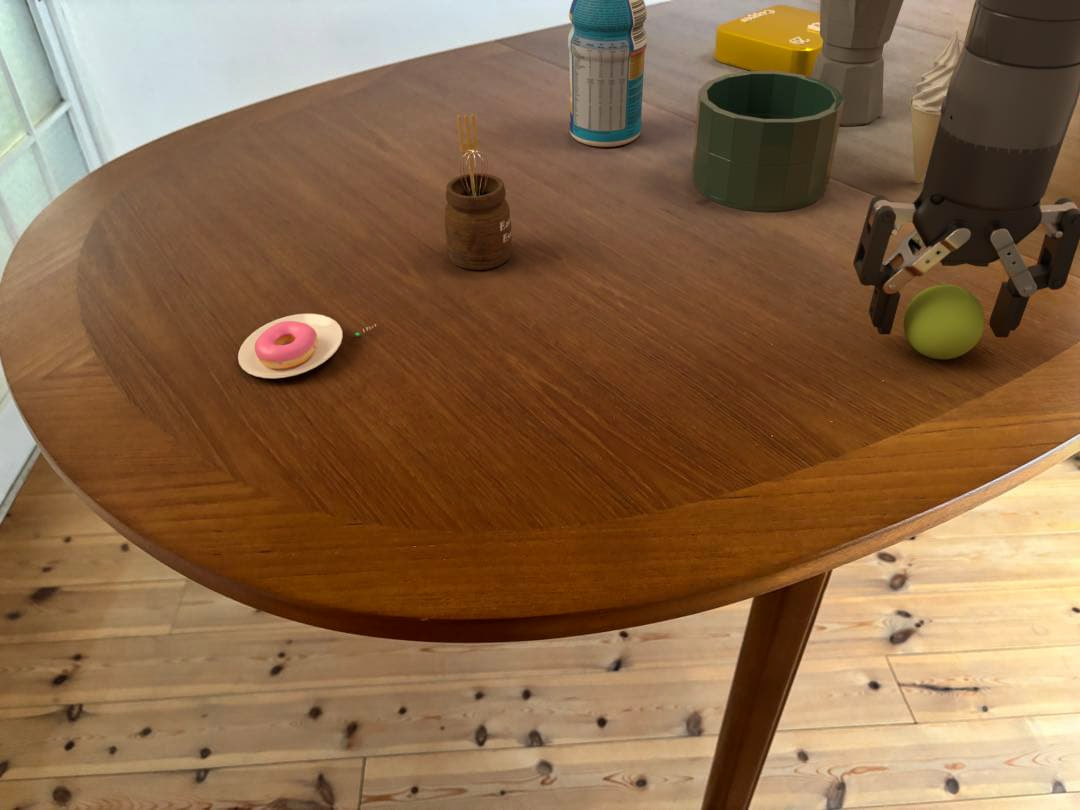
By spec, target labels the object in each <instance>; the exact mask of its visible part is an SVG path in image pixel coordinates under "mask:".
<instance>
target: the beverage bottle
mask: <svg viewBox="0 0 1080 810" xmlns="http://www.w3.org/2000/svg"><path fill="white" fill-rule="evenodd" d="M647 12H648V11H647V7H646V3H645V0H572V1H571V5H570V8H569V13H568V19H569V21H570V22H571V29H570V30H569V33H568V36H567V37H568V38H567V47H568V51H569V52H568V53H569V133H570V135H571V137H572V138H573V139H575V141H577V142H579V143H581V144H584V145H587V146H591V147H599V148H612V147H619V146H624V145H627V144H629V143H632V142H634V141H635V140H637V139H638V138H639V137H640V135H641V132H642V109H643V92H644V91H643V90H644V74H645V73H644V70H645V57H646V56H645V54H646V49H647V44H648V37H647V32H646V29H645V28H644V23H645V22H646V19H647V17H648V13H647Z"/></svg>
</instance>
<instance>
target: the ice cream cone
mask: <svg viewBox="0 0 1080 810" xmlns="http://www.w3.org/2000/svg"><path fill="white" fill-rule="evenodd" d="M960 47H961V46H960V42H959V31H958V30H956V31H955V33H954V34H953V36H952V37H951V39H950V40H949V41H948V43H947V44H946V45H945V47H944V48H943V50H942V51H941V52H940V54H938V56H937V57H936V58H935V60H934V61H933V68H932V69H931V70H930V71H928V72H926V73H923V74H922V75H921V76H920V78H921V82H918V83H916V84H915V87H914V88H915V90H916V91H917V94H915V95H914V96H912V98H911V99H910V100H909V105H910V109H911V110H910V111H911V112H910V113H911V114H910V115H911V132H912V133H911V134H912V136H911V137H912V151H913V153H912V154H913V169H914V171H913V172H914V183H915V184H921V182H922V181H923V179H924V178H925V175H926V171H927V168H928V164H929V160H930V156H931V152H932V148H933V144H934V140H935V137H936V133H937V129H938V125H939V121H940V117H941V106H942V102H943V100H944V98H945V96H946V94H947V90H948V87H949V83H950V80H951V77H952V74H953V71H954V69H955V66H956V64H957V62H958V59H959V57H960V54H961V48H960Z"/></svg>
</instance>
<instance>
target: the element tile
mask: <svg viewBox="0 0 1080 810" xmlns="http://www.w3.org/2000/svg"><path fill="white" fill-rule="evenodd" d="M822 44H823V39H822V38H821V36H820V12H817V11H813V10H808V9H804V8H800V7H796V6H792V5H791V6H790V5H786V4H776V5H771V6H769V7H766V8H763V9H760V10H757V11H754V12H751V13H749V14H746V15H743V16H740V17H737V18H735V19H732V20H729V21H727V22H723V23H721V24H718V26H717V27H716V33H715V44H714V53H713V54H714V55H713V56H714V59H715V61H717V62H719V63H721V64H725V65H728V66H732V67H735V68H738V69H743V70H745V71H778V72H785V73H793V74H800V75H804V76H807V77H811V74H812V71H813V68H814V65H815V62H816V59H817V56H818V55H819V54H820V53H821V50H822Z"/></svg>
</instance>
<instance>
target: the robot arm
mask: <svg viewBox="0 0 1080 810" xmlns="http://www.w3.org/2000/svg"><path fill="white" fill-rule="evenodd" d="M960 53H961V54H960V57H959V59H958V62H957V64H956V66H955V69H954V71H953V74H952V77H951V80H950V83H949V87H948V90H947V94H946V96H945V98H944V100H943V102H942V106H941V117H940V121H939V125H938V129H937V133H936V137H935V140H934V144H933V148H932V152H931V156H930V160H929V164H928V168H927V171H926V174H925V175H924V180H923V186H922V189H921V191H920V193H919V195H918V197H917V198H916V199H914V201H913V202H912V203H907V202H894V201H893V202H892V201H890V200H889V199H888V196H886V195H884V194H878V195H875V196H874V197H873V198H872V199H871V201H870V203H869V205H868V210H867V213H866V217H865V220H864V224H863V226H862V231H861V234H860V237H859V241H858V244H857V248H856V250H855V255H854V258H853V262H852V265H853V267H854V271H855V272H856V275H857V277H858V281H859V283H860V284H861V285H862V286H865V287H871V286H873V292H872V295H871V299H870V300H871V301H870V304H869V308H868V315H869V318H870V321H871V322H872V323H871V324H872V326H873V328H876V330H877V332H878V334H879V335H890V334H891V332H892V330H893V325H894V321H895V318H896V314H897V310H898V306H899V302H900V299H901V292H900V290H901V289H902V288H904V287H905V286H906V285H907V284H909V283H910V282H911V281H912V280H914V278H916V277H923V276H924V275H926V274H927V273H928V272H929V271H930V270H931V269H933V268H934V267H935V266H937V264H938V263H941V265H942V267H955V266H961V265H970V266H974V267H981V268H982V267H989V264H992V263H995V262H997V261H999V262H1000V264H1001V266H1002V268H1003V269H1004V272H1005V273H1006V275H1007V277H1008V280H1007V281H1002V282H1001V285H1000V288H999V291H998V293H997V297H996V300H995V303H994V305H993V309H992V310H991V311H992V312H991V314H990V317H989V323H988V324H989V327H990V330H991V331H992V333H993V335H994V337H995V338H1008V337H1009V335H1010V333H1011V331H1012V332H1015V331H1016V330H1017V328H1018V327H1019V326H1020V325H1021V322H1022V318H1023V316H1024V314H1025V311H1026V308H1027V305H1028V302H1029V300H1030V297H1031V296H1033V295H1034V294H1036V292H1037V291H1039V290H1044V289H1047V288H1049V289H1050V290H1051V291H1057V290H1060V289H1062V288H1064V286H1065V285H1066V283H1067V280H1068V277H1069V274H1070V272H1071V268H1072V265H1073V261H1074V259H1075V255H1076V252H1077V249H1078V246H1079V243H1080V208H1079V207H1078V206H1077V205H1076V204H1075V203H1074V202H1073V201H1072V199H1071V198H1069V197H1061V198H1059V199H1057V200H1056V201H1055V202H1054V204H1041V200H1042V199H1043V198H1044V197H1045V195H1046V192H1047V189H1048V186H1049V184H1050V181H1051V178H1052V175H1053V172H1054V169H1055V166H1056V163H1057V161H1058V158H1059V154H1060V152H1061V149H1062V146H1063V143H1064V141H1065V137H1066V134H1067V132H1068V128H1069V127H1070V123H1071V120H1072V118H1073V114H1074V112H1075V109H1076V106H1077V104H1078V100H1079V97H1080V0H975V1H974V4H973V8H972V12H971V15H970V20H969V23H968V27H967V31H966V35H965V39H964V41H963V45H962V49H961V50H960ZM907 223H912V224H913V227H914V230H913V231H912V232H910V233H909V234H908V235H907V236H905V238H904V239H902V240H901V241H900V242H899V244H898V245H897V248H896V250H895V251H894V252H893V253H892V254H890V255H889V256H888V257H887V258H886V259H885V260H884V258H885V255H886V251H887V248H888V245H889V242H890V239H891V236H897V235H898V234H899V232H900V231H901V229H902V227H903V226H904V225H906V224H907ZM1040 224H1041V225H1040ZM1039 225H1040V227H1041V230H1042V231H1043V232H1044V237H1043V241H1042V245H1041V248H1040V252H1039V255H1038V257H1037V262H1036V264H1034V265H1030V266H1027V264H1026V262H1025V260H1024V258H1023V256H1022V254H1021V252H1020V250H1019V249H1018V248H1017V245H1018V244H1019V243H1020V242H1022V241H1023V240H1024V239H1025V238H1027V237H1028V236H1029V235H1030V234H1032V233H1033V232H1034V231H1035V230H1036V229H1037V228H1038V227H1039ZM924 246H925V248H924V250H923V251H921V249H922V248H923V247H924ZM920 251H921V252H920Z"/></svg>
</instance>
